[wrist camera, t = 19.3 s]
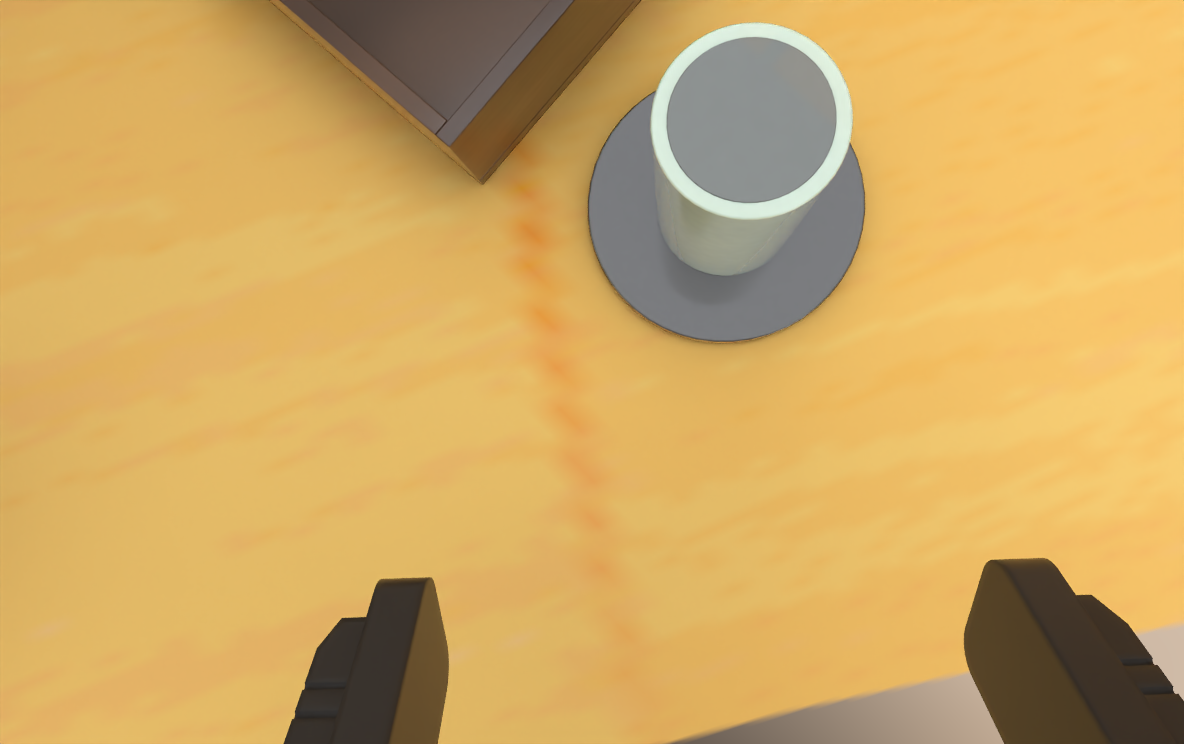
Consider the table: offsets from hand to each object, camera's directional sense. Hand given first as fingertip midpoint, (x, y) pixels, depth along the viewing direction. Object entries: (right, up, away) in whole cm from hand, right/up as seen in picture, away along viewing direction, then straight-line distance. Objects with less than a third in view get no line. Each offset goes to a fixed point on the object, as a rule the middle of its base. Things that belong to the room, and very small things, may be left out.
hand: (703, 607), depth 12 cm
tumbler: (+4, +10, +20) cm, 23 cm away
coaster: (+4, +10, +21) cm, 23 cm away
